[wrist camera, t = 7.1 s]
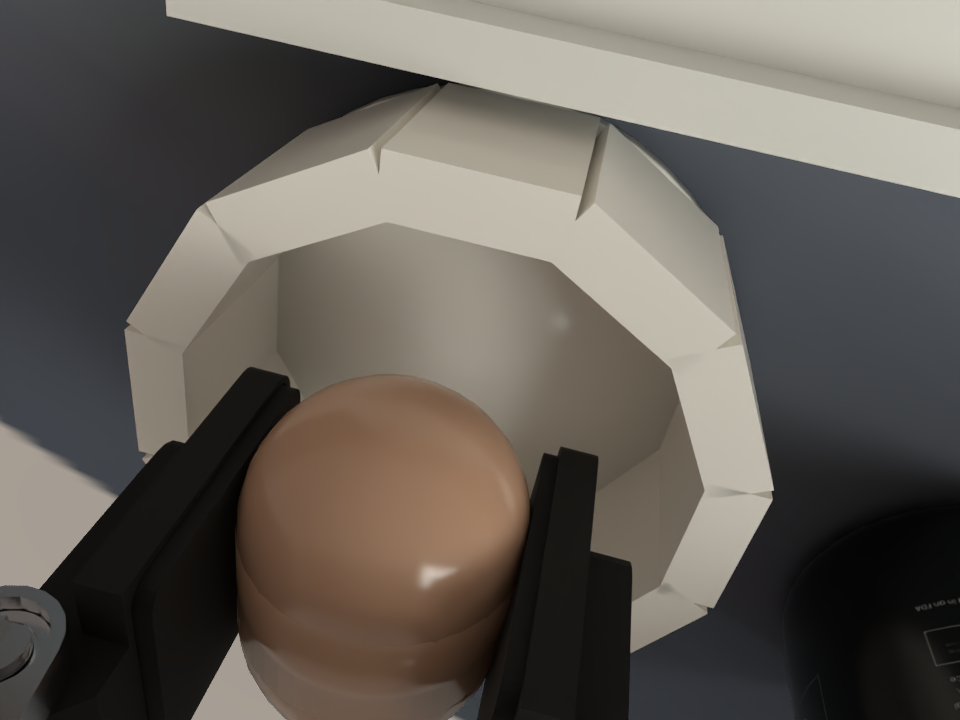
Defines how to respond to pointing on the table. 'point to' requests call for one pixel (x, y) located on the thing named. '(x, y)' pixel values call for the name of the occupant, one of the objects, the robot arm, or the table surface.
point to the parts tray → (676, 66)
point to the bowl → (487, 312)
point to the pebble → (378, 551)
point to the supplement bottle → (879, 623)
